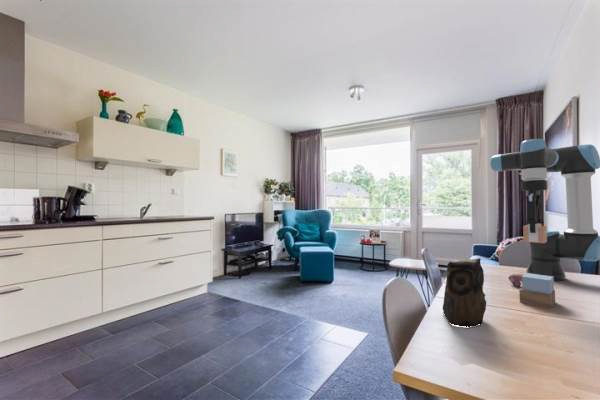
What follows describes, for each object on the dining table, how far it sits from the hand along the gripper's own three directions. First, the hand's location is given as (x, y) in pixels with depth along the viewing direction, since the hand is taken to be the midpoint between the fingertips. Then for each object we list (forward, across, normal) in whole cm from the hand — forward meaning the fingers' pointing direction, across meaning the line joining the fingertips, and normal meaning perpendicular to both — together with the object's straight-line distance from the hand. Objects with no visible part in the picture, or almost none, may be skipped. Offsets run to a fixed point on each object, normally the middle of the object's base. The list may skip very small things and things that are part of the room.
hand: (535, 240), depth 108 cm
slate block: (+18, 0, 0) cm, 18 cm away
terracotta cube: (0, 0, 0) cm, 0 cm away
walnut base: (+23, 0, 0) cm, 23 cm away
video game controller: (+23, -22, -8) cm, 33 cm away
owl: (+24, +39, -13) cm, 47 cm away
